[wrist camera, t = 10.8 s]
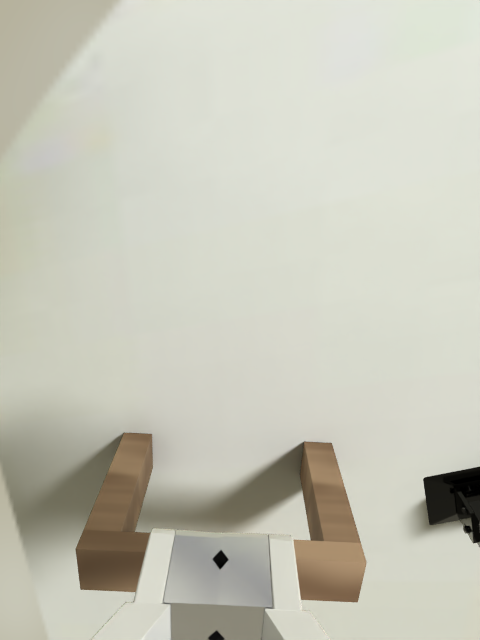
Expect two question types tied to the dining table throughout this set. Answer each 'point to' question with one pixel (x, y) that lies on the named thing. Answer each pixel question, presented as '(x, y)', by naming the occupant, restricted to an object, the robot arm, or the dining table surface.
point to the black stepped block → (455, 500)
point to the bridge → (311, 556)
